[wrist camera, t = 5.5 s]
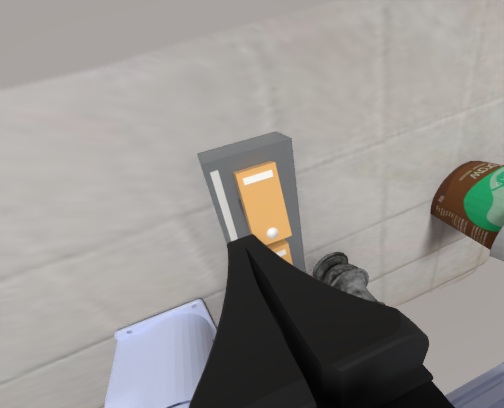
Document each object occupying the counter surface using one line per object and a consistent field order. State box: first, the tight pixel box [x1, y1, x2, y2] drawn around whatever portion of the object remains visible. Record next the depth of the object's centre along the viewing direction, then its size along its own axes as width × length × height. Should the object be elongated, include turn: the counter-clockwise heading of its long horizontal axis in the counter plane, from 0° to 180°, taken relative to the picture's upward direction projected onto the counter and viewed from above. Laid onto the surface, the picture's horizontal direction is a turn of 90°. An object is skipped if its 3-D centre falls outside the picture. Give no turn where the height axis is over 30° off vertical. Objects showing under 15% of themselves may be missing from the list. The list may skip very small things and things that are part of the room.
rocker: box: [233, 161, 292, 245], centre depth 18 cm, size 3×6×1 cm, turn 11°
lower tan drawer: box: [266, 239, 293, 265], centre depth 21 cm, size 3×6×1 cm, turn 11°
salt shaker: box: [313, 252, 385, 305], centre depth 25 cm, size 6×6×12 cm
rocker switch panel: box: [198, 132, 306, 273], centre depth 23 cm, size 7×22×4 cm, turn 11°
